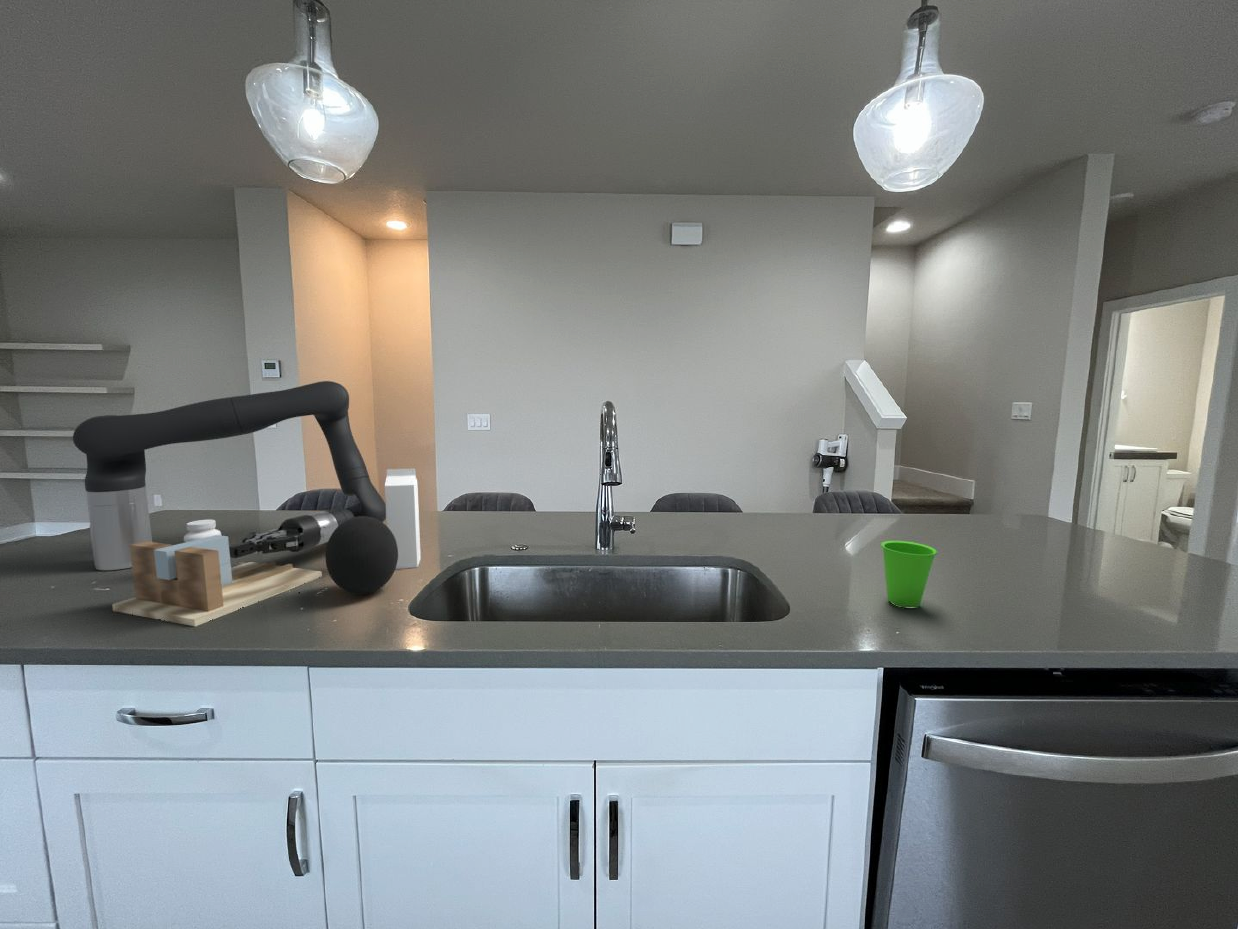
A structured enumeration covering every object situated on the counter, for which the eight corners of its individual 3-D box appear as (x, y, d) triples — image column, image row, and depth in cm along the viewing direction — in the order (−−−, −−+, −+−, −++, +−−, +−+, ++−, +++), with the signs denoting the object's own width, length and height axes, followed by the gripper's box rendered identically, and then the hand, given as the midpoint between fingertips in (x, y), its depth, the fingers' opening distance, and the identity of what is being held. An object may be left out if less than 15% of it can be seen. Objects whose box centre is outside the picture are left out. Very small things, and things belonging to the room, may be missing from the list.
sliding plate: (160, 605, 84) (154, 550, 83) (221, 585, 94) (216, 535, 92) (172, 607, 83) (166, 551, 82) (232, 586, 93) (228, 536, 92)
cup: (924, 598, 94) (929, 543, 93) (938, 617, 86) (943, 557, 84) (872, 591, 97) (877, 538, 96) (881, 609, 89) (885, 551, 87)
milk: (417, 568, 108) (413, 470, 106) (388, 570, 107) (383, 471, 104) (420, 559, 114) (417, 466, 111) (392, 561, 113) (388, 467, 110)
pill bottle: (225, 565, 109) (220, 517, 107) (225, 572, 104) (220, 522, 103) (188, 570, 105) (182, 521, 104) (186, 579, 100) (181, 527, 99)
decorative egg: (365, 609, 86) (360, 527, 85) (312, 600, 90) (306, 521, 88) (413, 585, 98) (410, 512, 96) (364, 578, 102) (360, 508, 100)
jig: (113, 610, 85) (105, 548, 83) (250, 567, 108) (246, 517, 106) (195, 626, 79) (188, 560, 78) (321, 576, 102) (318, 525, 101)
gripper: (286, 512, 111) (203, 531, 95) (331, 516, 108) (253, 537, 91) (288, 544, 112) (207, 568, 96) (333, 549, 109) (257, 575, 92)
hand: (230, 553), depth 94 cm, fingers closed
